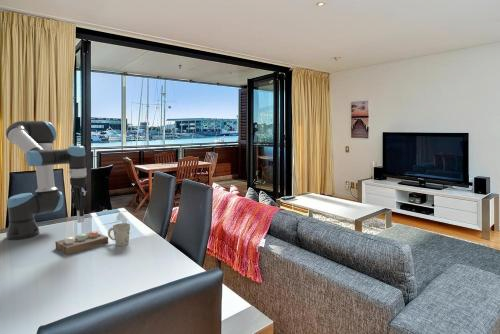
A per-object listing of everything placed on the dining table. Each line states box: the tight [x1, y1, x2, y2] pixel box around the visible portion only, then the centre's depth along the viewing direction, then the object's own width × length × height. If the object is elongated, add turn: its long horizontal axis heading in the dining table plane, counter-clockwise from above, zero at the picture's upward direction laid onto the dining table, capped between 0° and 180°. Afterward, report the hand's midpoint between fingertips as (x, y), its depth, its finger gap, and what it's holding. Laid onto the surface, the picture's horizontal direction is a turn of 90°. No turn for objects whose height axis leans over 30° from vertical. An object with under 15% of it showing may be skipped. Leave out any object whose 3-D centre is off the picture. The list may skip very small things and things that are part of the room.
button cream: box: [64, 236, 76, 245], centre depth 160 cm, size 4×4×4 cm
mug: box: [107, 222, 131, 247], centre depth 167 cm, size 8×13×10 cm, turn 78°
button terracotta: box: [88, 230, 99, 238], centre depth 169 cm, size 4×4×4 cm
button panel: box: [55, 232, 109, 256], centre depth 165 cm, size 14×20×4 cm
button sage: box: [76, 233, 88, 242], centre depth 164 cm, size 4×4×4 cm
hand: (80, 221), depth 165 cm, fingers closed
